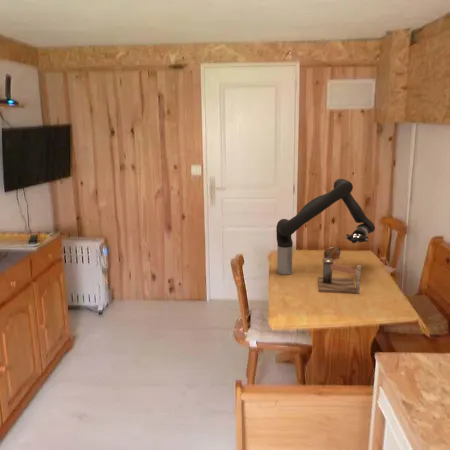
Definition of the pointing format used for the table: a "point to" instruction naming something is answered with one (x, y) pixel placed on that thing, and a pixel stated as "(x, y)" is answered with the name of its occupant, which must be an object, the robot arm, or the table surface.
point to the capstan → (330, 266)
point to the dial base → (341, 284)
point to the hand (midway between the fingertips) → (353, 241)
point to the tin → (332, 252)
